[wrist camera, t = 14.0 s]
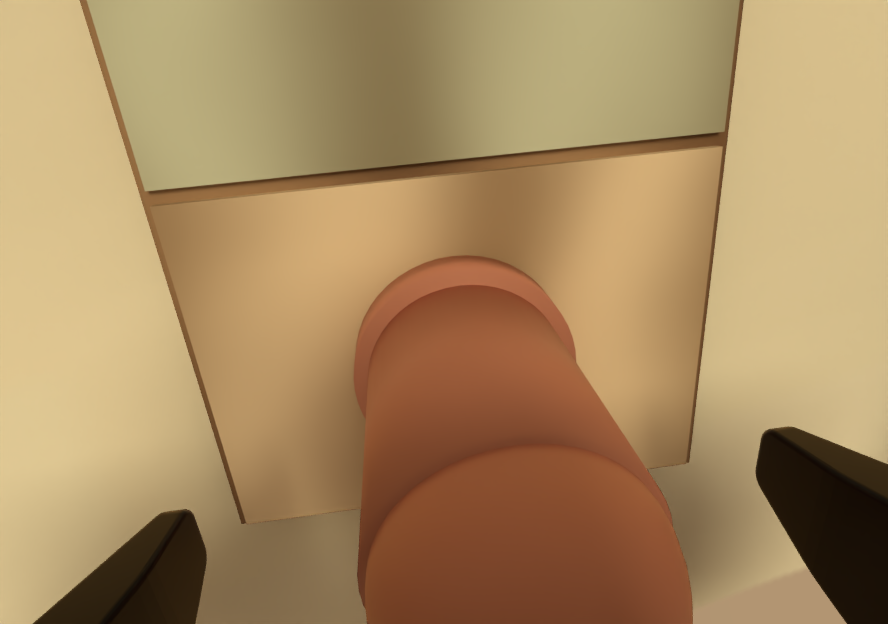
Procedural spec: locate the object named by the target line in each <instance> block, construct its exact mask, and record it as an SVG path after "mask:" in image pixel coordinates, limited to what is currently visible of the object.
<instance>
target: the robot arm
mask: <svg viewBox="0 0 888 624" xmlns="http://www.w3.org/2000/svg"><path fill="white" fill-rule="evenodd" d="M756 478H757V481H758V484H759V486H760V488H761V490H762V491H763V493H764V495H765V497H766V498H767V500H768V502H769V503H770V505H771V507H772V508H773V510H774V512H775V514H776V515H777V517H778V519H779V520H780V522H781V524H782V525H783V527H784V529H785V531H786V532H787V534H788V536H789V537H790V539H791V541H792V542H793V544H794V546H795V548H796V549H797V551H798V553H799V554H800V556H801V558H802V559H803V561H804V563H805V564H806V566H807V567H808V569H809V570H810V572H811V574H812V575H813V576H814V578H815V579H816V581H817V582H818V584H819V585H820V587H821V588H822V590H823V591H824V592H825V594H826V595H827V597H828V598H829V599H830V601H831V602H832V603H833V605H834V606H835V608H836V609H837V610H838V612H839V613H840V615H841V616H842V617H843V619H844V620H845V622H846V623H847V624H888V464H885V463H883V462H880V461H878V460H875V459H873V458H870V457H868V456H865V455H863V454H860V453H858V452H855V451H853V450H850V449H848V448H845V447H843V446H840V445H838V444H835V443H833V442H830V441H828V440H825V439H823V438H820V437H818V436H815V435H813V434H810V433H807V432H805V431H802V430H800V429H797V428H795V427H781V428H774V429H768V430H766V431H765V432H764V433H763V435H762V438H761V443H760V448H759V454H758V459H757V465H756ZM206 561H207V554H206V548H205V545H204V542H203V539H202V537H201V534H200V531H199V528H198V525H197V523H196V520H195V517H194V515H193V513H192V512H191V511H190V510H187V509H183V510H175V511H168V512H163V513H161V514H159V515H158V516H156V517H155V518H154V519H153V520H152V521H151V522H149V523H148V524H147V525H146V526H145V527H144V528H142V529H141V530H140V531H139V532H138V533H137V534H136V535H134V536H133V537H132V538H131V539H130V540H129V541H127V542H126V543H125V544H124V545H123V546H122V547H121V548H119V549H118V550H117V551H116V552H115V553H114V554H112V555H111V556H110V557H109V558H108V559H107V560H106V561H104V562H103V563H102V564H101V565H100V566H99V567H97V568H96V569H95V570H94V571H93V572H92V573H91V574H89V575H88V576H87V577H86V578H85V579H84V580H82V581H81V582H80V583H79V584H78V585H77V586H76V587H74V588H73V589H72V590H71V591H70V592H69V593H68V594H66V595H65V596H64V597H63V598H62V599H61V600H59V601H58V602H57V603H56V604H55V605H54V606H53V607H51V608H50V609H49V610H48V611H47V612H46V613H44V614H43V615H42V616H41V617H40V618H39V619H38V620H36V621H35V622H34V623H33V624H195V623H196V618H197V612H198V607H199V601H200V596H201V591H202V585H203V580H204V574H205V569H206Z"/></svg>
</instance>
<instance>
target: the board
mask: <svg viewBox="0 0 888 624" xmlns="http://www.w3.org/2000/svg"><path fill="white" fill-rule="evenodd" d="M743 2H744V0H80V3H81V6H82V9H83V13H84V16H85V19H86V22H87V25H88V29H89V32H90V35H91V38H92V42H93V45H94V48H95V51H96V55H97V58H98V61H99V64H100V67H101V71H102V74H103V77H104V80H105V84H106V87H107V90H108V93H109V96H110V100H111V103H112V106H113V109H114V113H115V116H116V119H117V122H118V126H119V129H120V132H121V135H122V138H123V142H124V145H125V148H126V151H127V155H128V158H129V161H130V164H131V168H132V171H133V174H134V177H135V180H136V184H137V187H138V190H139V193H140V197H141V200H142V203H143V206H144V210H145V213H146V216H147V219H148V222H149V226H150V229H151V232H152V235H153V239H154V242H155V245H156V248H157V252H158V255H159V258H160V261H161V264H162V268H163V271H164V274H165V277H166V281H167V284H168V287H169V290H170V294H171V297H172V300H173V303H174V306H175V310H176V313H177V316H178V319H179V323H180V326H181V329H182V332H183V335H184V339H185V342H186V345H187V348H188V352H189V355H190V358H191V361H192V365H193V368H194V371H195V374H196V377H197V381H198V384H199V387H200V390H201V394H202V397H203V400H204V403H205V407H206V410H207V413H208V416H209V419H210V423H211V426H212V429H213V432H214V436H215V439H216V442H217V445H218V449H219V452H220V455H221V458H222V461H223V465H224V468H225V471H226V474H227V478H228V481H229V484H230V487H231V491H232V494H233V497H234V500H235V503H236V507H237V510H238V513H239V516H240V520H241V523H242V524H245V523H246V524H252V523H259V522H266V521H273V520H281V519H288V518H295V517H302V516H310V515H317V514H324V513H331V512H339V511H346V510H353V509H361V498H362V480H363V461H364V442H365V424H366V419H365V417H364V416H363V414H362V411H361V409H360V407H359V404H358V401H357V397H356V393H355V387H354V362H355V353H356V343H357V338H358V333H359V329H360V327H361V324H362V321H363V318H364V316H365V315H366V313H367V311H368V309H369V307H370V306H371V304H372V303H373V301H374V300H375V299H376V297H377V296H378V295H379V294H380V293H381V292H382V291H383V290H384V289H385V287H386V286H387V285H389V284H390V283H391V282H392V281H394V280H395V279H396V278H397V277H399V276H400V275H402V274H403V273H405V272H407V271H408V270H410V269H412V268H414V267H416V266H418V265H421V264H423V263H425V262H429V261H432V260H435V259H438V258H444V257H450V256H462V255H471V256H482V257H487V258H492V259H496V260H499V261H502V262H505V263H508V264H510V265H512V266H514V267H516V268H518V269H520V270H521V271H523V272H524V273H526V274H527V275H528V276H530V277H531V278H532V279H533V280H535V281H536V282H537V283H538V284H539V285H540V286H541V287H542V289H543V290H544V291H545V292H546V294H547V295H548V296H549V298H550V299H551V300H552V302H553V303H554V304H555V306H556V307H557V308H558V310H559V311H560V313H561V314H562V316H563V317H564V319H565V321H566V323H567V324H568V326H569V329H570V332H571V334H572V337H573V341H574V346H575V350H576V363H577V365H578V366H579V368H580V369H581V371H582V372H583V374H584V375H585V377H586V378H587V380H588V381H589V383H590V384H591V386H592V387H593V389H594V390H595V392H596V393H597V395H598V396H599V398H600V399H601V401H602V402H603V404H604V405H605V407H606V408H607V410H608V411H609V413H610V415H611V416H612V418H613V419H614V421H615V422H616V424H617V425H618V427H619V428H620V430H621V431H622V433H623V434H624V436H625V437H626V439H627V440H628V442H629V443H630V445H631V446H632V448H633V449H634V451H635V452H636V454H637V455H638V457H639V458H640V460H641V461H642V463H643V464H644V466H645V468H646V469H651V468H658V467H665V466H673V465H680V464H686V463H688V462H689V458H690V449H691V441H692V433H693V424H694V416H695V407H696V399H697V390H698V382H699V374H700V365H701V357H702V348H703V340H704V331H705V323H706V314H707V306H708V298H709V289H710V281H711V272H712V264H713V255H714V247H715V238H716V230H717V222H718V213H719V205H720V196H721V188H722V179H723V171H724V162H725V154H726V146H727V137H728V129H729V120H730V112H731V103H732V95H733V86H734V78H735V70H736V61H737V53H738V44H739V36H740V27H741V19H742V10H743Z"/></svg>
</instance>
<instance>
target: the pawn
mask: <svg viewBox="0 0 888 624" xmlns="http://www.w3.org/2000/svg"><path fill="white" fill-rule="evenodd" d="M354 387H355V393H356V397H357V401H358V404H359V407H360V409H361V411H362V414H363V416H364V417H365V419H366V424H365V442H364V461H363V480H362V498H361V517H360V535H359V554H358V572H357V577H358V586H359V592H360V596H361V599H362V602H363V606H364V607H365V609H366V617H367V624H692V623H693V612H692V594H691V587H690V581H689V576H688V571H687V565H686V562H685V559H684V556H683V553H682V551H681V548H680V545H679V542H678V539H677V536H676V533H675V531H674V529H673V524H672V518H671V513H670V511H669V508H668V505H667V502H666V500H665V498H664V496H663V494H662V493H661V491H660V489H659V487H658V486H657V484H656V483H655V481H654V480H653V478H652V477H651V475H650V474H649V472H648V471H647V469H646V468H645V466H644V464H643V463H642V461H641V460H640V458H639V457H638V455H637V454H636V452H635V451H634V449H633V448H632V446H631V445H630V443H629V442H628V440H627V439H626V437H625V436H624V434H623V433H622V431H621V430H620V428H619V427H618V425H617V424H616V422H615V421H614V419H613V418H612V416H611V415H610V413H609V411H608V410H607V408H606V407H605V405H604V404H603V402H602V401H601V399H600V398H599V396H598V395H597V393H596V392H595V390H594V389H593V387H592V386H591V384H590V383H589V381H588V380H587V378H586V377H585V375H584V374H583V372H582V371H581V369H580V368H579V366H578V365H577V363H576V350H575V346H574V341H573V337H572V334H571V332H570V329H569V326H568V324H567V323H566V321H565V319H564V317H563V316H562V314H561V313H560V311H559V310H558V308H557V307H556V306H555V304H554V303H553V302H552V300H551V299H550V298H549V296H548V295H547V294H546V292H545V291H544V290H543V289H542V287H541V286H540V285H539V284H538V283H537V282H536V281H535V280H533V279H532V278H531V277H530V276H528V275H527V274H526V273H524V272H523V271H521V270H520V269H518V268H516V267H514V266H512V265H510V264H508V263H505V262H502V261H499V260H496V259H492V258H487V257H482V256H471V255H462V256H450V257H444V258H438V259H435V260H432V261H429V262H425V263H423V264H421V265H418V266H416V267H414V268H412V269H410V270H408V271H407V272H405V273H403V274H402V275H400V276H399V277H397V278H396V279H395V280H394V281H392V282H391V283H390V284H389V285H387V286H386V287H385V289H384V290H383V291H382V292H381V293H380V294H379V295H378V296H377V297H376V299H375V300H374V301H373V303H372V304H371V306H370V307H369V309H368V311H367V313H366V315H365V316H364V318H363V321H362V324H361V327H360V329H359V333H358V338H357V343H356V353H355V362H354Z"/></svg>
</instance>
